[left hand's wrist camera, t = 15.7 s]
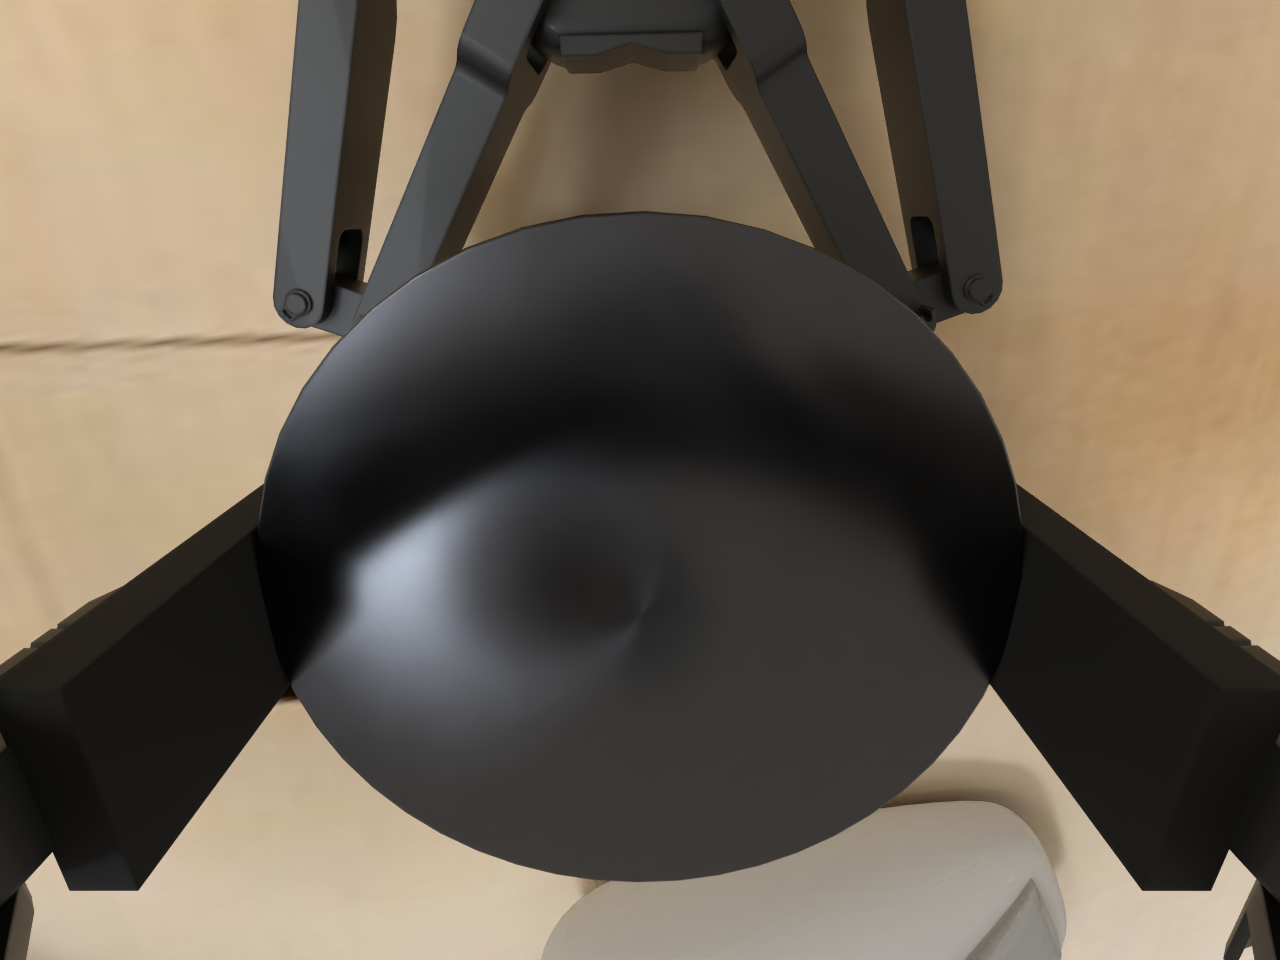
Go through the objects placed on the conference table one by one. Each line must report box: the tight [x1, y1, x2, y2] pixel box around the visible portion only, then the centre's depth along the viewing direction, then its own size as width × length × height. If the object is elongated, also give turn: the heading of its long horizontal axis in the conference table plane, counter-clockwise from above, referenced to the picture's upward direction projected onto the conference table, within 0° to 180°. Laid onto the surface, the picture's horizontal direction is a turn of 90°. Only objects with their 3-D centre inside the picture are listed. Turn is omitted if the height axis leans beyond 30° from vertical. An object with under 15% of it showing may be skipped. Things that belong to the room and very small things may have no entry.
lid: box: [258, 211, 1023, 882], centre depth 11 cm, size 11×11×2 cm
